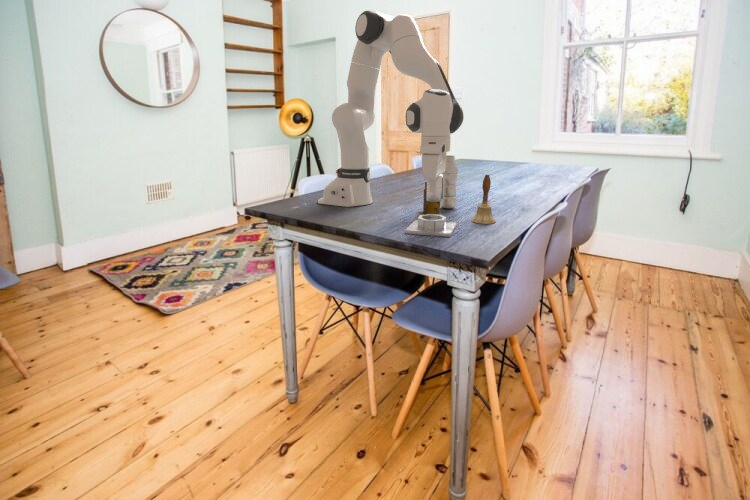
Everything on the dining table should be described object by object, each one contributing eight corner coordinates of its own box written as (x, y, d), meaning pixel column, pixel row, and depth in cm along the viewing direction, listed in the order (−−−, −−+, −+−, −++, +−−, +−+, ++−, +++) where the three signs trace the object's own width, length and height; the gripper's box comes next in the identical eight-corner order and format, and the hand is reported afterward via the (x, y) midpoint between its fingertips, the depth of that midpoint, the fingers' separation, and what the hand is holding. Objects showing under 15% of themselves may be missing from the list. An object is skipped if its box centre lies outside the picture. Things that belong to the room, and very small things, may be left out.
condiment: (443, 216, 165) (444, 182, 162) (421, 217, 163) (422, 183, 160) (436, 211, 172) (437, 179, 168) (414, 212, 170) (415, 180, 166)
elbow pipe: (425, 201, 143) (425, 175, 140) (428, 198, 147) (428, 173, 145) (441, 202, 141) (442, 176, 139) (444, 199, 146) (444, 173, 143)
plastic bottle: (456, 210, 173) (459, 157, 167) (438, 209, 175) (440, 156, 169) (456, 206, 179) (459, 155, 173) (439, 206, 181) (441, 154, 175)
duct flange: (405, 233, 143) (405, 220, 142) (415, 222, 155) (415, 211, 154) (450, 236, 139) (450, 224, 137) (456, 225, 151) (457, 214, 150)
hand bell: (478, 217, 163) (481, 172, 158) (499, 220, 158) (503, 174, 153) (466, 221, 157) (469, 175, 152) (489, 225, 152) (492, 177, 147)
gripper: (431, 142, 150) (430, 184, 154) (418, 148, 131) (418, 195, 135) (450, 142, 148) (449, 185, 152) (440, 148, 129) (439, 196, 133)
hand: (434, 190), depth 143 cm, fingers closed on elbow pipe, 5 cm apart
